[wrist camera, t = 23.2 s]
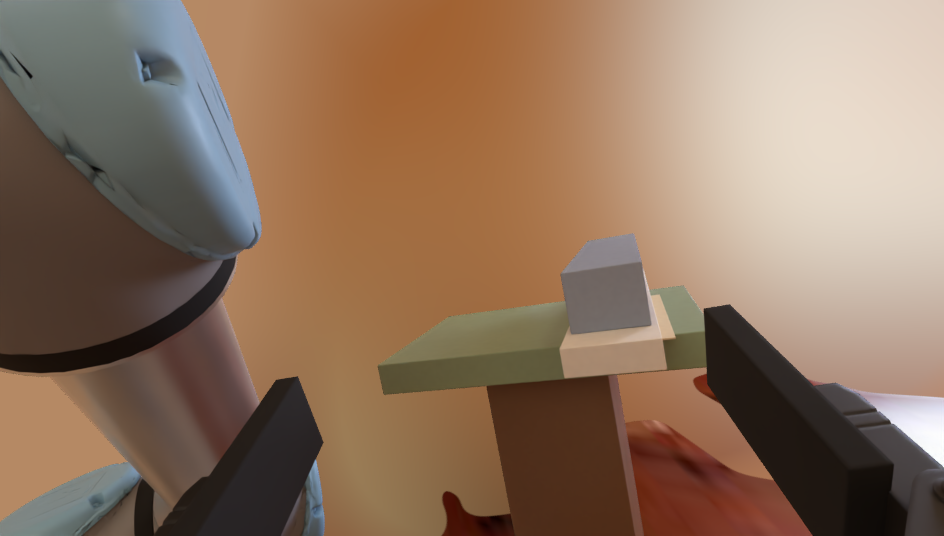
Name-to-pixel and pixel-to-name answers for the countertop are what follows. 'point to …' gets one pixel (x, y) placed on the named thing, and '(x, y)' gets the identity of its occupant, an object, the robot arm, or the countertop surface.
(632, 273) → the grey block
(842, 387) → the robot arm
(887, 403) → the countertop surface
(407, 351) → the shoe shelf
